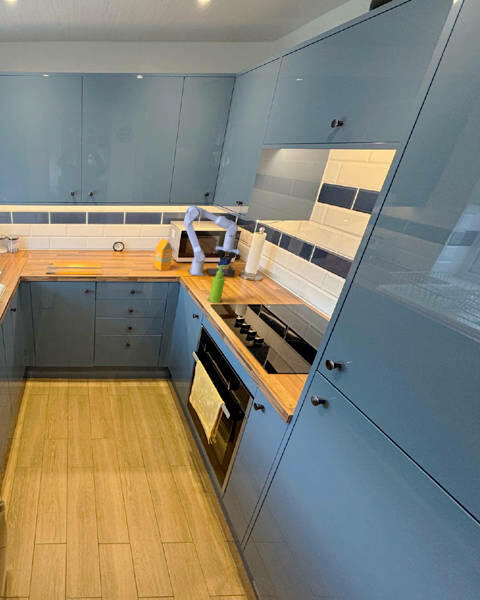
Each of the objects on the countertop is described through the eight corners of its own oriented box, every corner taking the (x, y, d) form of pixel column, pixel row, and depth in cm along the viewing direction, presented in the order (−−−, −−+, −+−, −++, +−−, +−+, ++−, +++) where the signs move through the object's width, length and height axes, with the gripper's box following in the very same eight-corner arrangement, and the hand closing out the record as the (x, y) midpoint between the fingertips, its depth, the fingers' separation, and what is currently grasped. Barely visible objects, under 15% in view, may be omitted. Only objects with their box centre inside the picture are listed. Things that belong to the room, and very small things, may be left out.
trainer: (223, 263, 213) (224, 256, 211) (230, 264, 210) (231, 258, 208) (216, 267, 206) (217, 260, 204) (223, 268, 203) (224, 262, 201)
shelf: (206, 270, 221) (207, 263, 219) (229, 271, 219) (230, 264, 217) (209, 275, 211) (210, 269, 209) (233, 277, 209) (235, 270, 207)
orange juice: (163, 265, 230) (166, 237, 221) (170, 269, 222) (173, 241, 214) (153, 266, 228) (156, 238, 219) (160, 270, 220) (163, 242, 212)
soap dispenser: (224, 301, 177) (231, 266, 168) (213, 303, 175) (220, 268, 166) (217, 297, 182) (224, 263, 173) (206, 298, 180) (213, 264, 172)
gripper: (214, 240, 204) (211, 261, 210) (238, 245, 195) (234, 266, 201) (219, 238, 209) (215, 258, 215) (242, 242, 200) (238, 263, 206)
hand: (225, 262), depth 208 cm, fingers closed on trainer, 4 cm apart
